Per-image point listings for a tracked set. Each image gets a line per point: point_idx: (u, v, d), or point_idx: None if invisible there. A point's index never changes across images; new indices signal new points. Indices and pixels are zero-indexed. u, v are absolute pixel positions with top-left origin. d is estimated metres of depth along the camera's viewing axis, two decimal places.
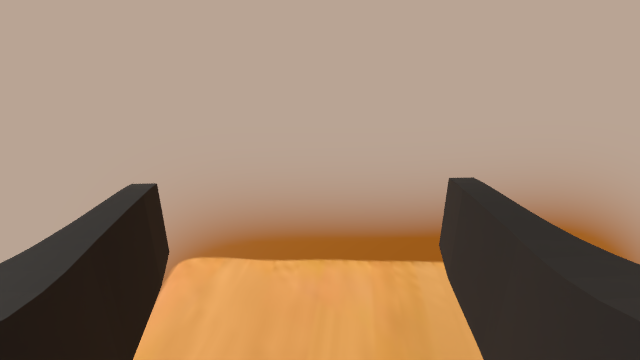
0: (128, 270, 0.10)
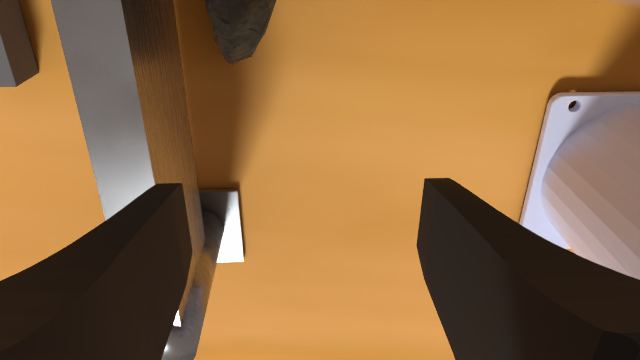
0: (157, 269, 0.10)
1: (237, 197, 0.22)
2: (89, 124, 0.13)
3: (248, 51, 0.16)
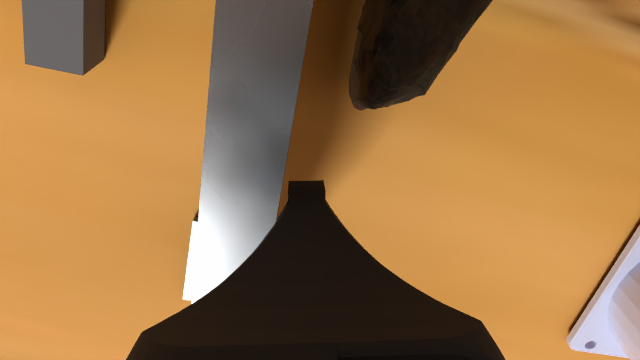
0: None
1: None
2: (212, 173, 0.10)
3: (393, 103, 0.14)
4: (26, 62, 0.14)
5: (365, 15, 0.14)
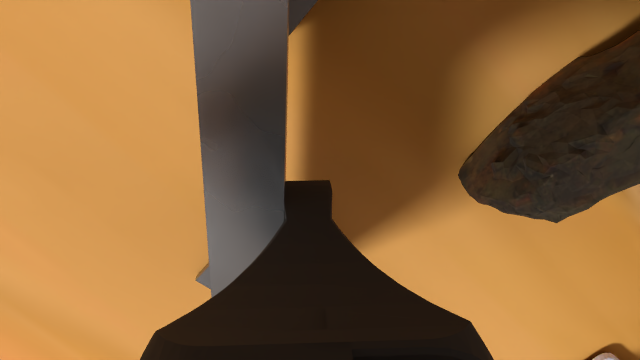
0: None
1: None
2: (213, 184, 0.10)
3: None
4: None
5: (527, 133, 0.16)
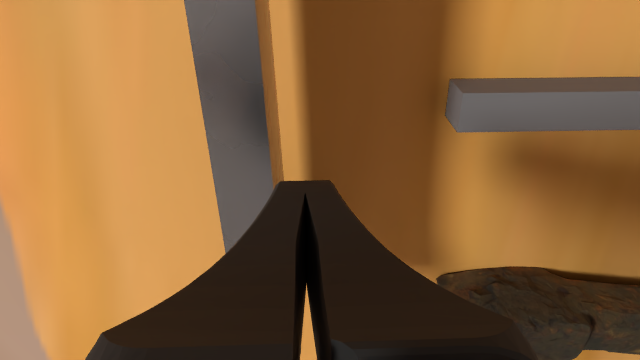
0: (300, 265, 0.10)
1: None
2: (213, 127, 0.13)
3: None
4: (462, 92, 0.19)
5: (502, 290, 0.23)
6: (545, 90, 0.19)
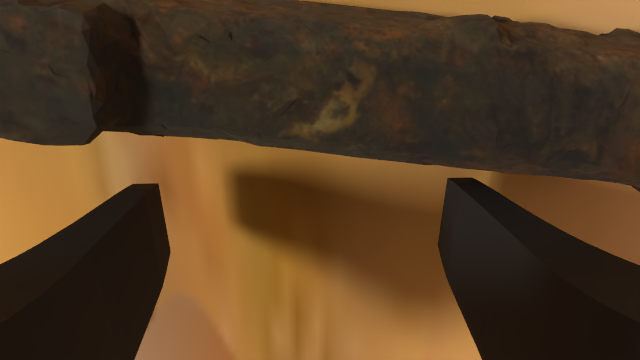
0: (129, 269, 0.10)
1: None
2: None
3: None
4: None
5: None
6: None
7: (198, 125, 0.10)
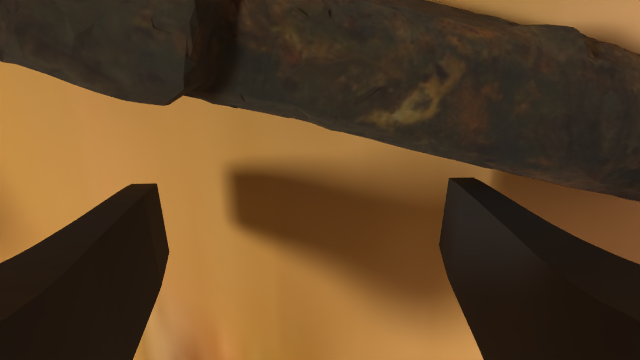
0: (127, 270, 0.10)
1: None
2: None
3: None
4: None
5: None
6: None
7: (277, 100, 0.09)
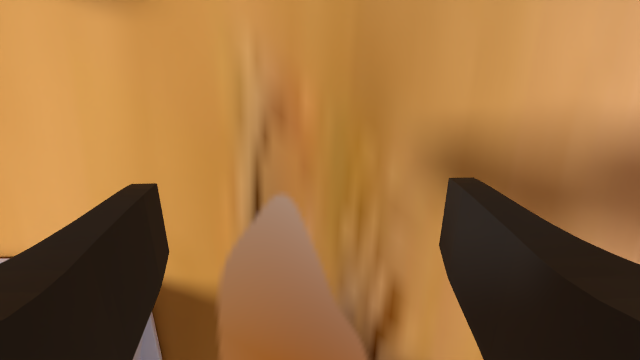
0: (128, 270, 0.10)
1: None
2: None
3: None
4: None
5: None
6: None
7: None
